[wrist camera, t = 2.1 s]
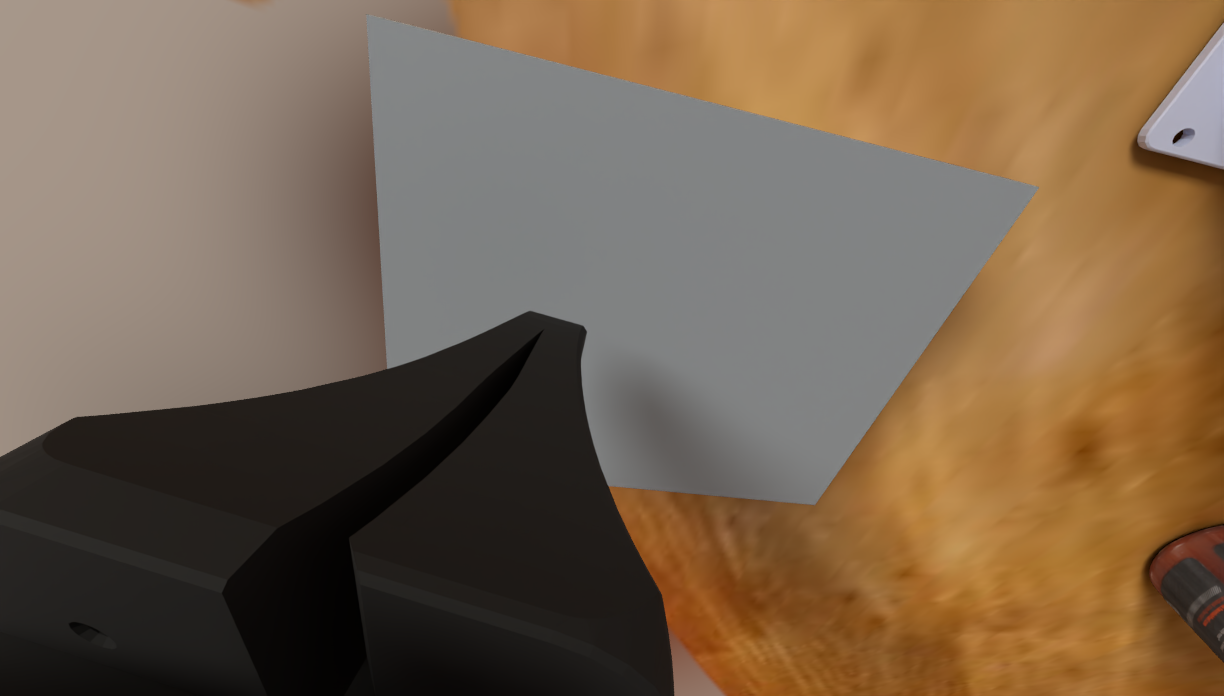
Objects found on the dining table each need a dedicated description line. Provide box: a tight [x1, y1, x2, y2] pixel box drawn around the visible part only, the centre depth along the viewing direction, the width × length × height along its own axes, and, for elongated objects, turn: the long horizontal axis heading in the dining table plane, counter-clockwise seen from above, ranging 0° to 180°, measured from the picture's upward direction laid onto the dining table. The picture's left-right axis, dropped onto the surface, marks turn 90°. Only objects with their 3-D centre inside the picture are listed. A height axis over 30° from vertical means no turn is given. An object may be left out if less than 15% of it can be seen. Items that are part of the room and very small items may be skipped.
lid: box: [367, 15, 1039, 505], centre depth 13 cm, size 16×13×1 cm
